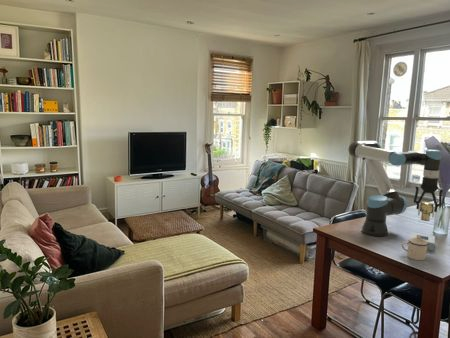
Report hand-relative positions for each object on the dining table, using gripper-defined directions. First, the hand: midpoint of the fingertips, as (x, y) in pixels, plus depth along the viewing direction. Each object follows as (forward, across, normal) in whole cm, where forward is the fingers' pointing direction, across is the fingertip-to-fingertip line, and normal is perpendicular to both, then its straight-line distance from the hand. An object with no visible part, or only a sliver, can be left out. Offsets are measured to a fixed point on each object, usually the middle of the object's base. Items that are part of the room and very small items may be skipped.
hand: (425, 215), depth 194 cm
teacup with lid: (+17, -3, -23) cm, 29 cm away
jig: (+17, 0, -3) cm, 17 cm away
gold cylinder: (+2, 0, 0) cm, 2 cm away
